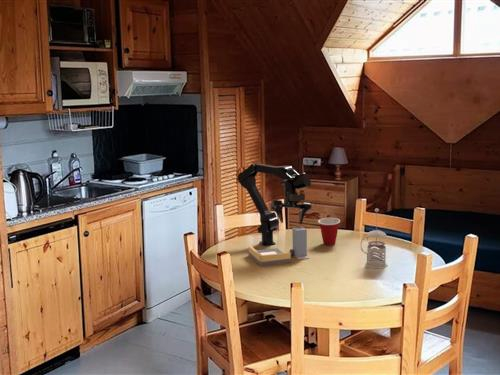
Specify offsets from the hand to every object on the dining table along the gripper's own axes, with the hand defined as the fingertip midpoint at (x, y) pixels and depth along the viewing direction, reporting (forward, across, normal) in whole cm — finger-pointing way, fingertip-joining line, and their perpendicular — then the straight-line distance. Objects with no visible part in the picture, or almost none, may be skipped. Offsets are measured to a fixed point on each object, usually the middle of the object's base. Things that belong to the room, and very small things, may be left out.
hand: (291, 223), depth 273 cm
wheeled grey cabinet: (+15, +4, +2) cm, 15 cm away
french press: (+22, +30, -20) cm, 42 cm away
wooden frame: (+16, -10, +4) cm, 20 cm away
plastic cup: (+5, +25, +13) cm, 28 cm away
